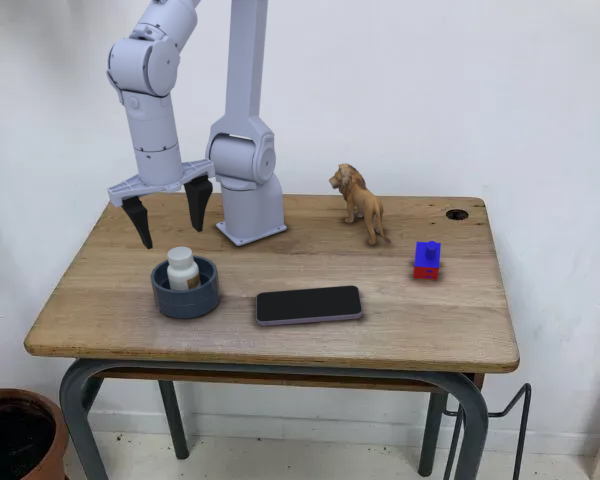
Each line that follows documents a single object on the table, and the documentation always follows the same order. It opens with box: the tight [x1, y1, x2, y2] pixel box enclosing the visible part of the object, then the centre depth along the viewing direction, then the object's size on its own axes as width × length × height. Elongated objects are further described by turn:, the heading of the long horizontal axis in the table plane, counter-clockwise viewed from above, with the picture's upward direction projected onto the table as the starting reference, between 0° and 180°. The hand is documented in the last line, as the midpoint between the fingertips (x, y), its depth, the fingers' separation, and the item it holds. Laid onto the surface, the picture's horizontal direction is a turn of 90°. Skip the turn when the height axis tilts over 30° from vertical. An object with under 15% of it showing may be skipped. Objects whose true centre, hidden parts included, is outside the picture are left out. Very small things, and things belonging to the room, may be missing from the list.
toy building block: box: [412, 240, 442, 281], centre depth 102 cm, size 4×4×8 cm
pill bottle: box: [167, 246, 201, 291], centre depth 99 cm, size 4×4×8 cm
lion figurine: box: [328, 162, 392, 246], centre depth 112 cm, size 15×5×9 cm, turn 33°
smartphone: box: [255, 284, 363, 327], centre depth 99 cm, size 7×1×15 cm
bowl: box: [149, 254, 222, 319], centre depth 100 cm, size 9×9×5 cm
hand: (173, 237), depth 97 cm, fingers open, 7 cm apart
